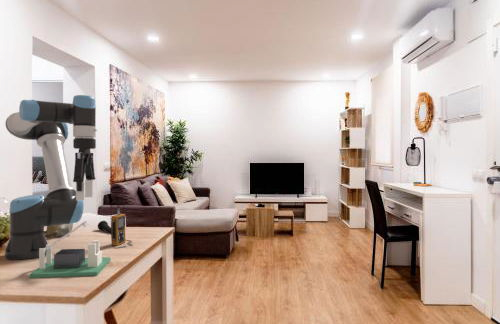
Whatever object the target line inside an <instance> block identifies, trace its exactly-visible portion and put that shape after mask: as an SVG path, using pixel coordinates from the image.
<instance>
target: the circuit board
mask: <svg viewBox="0 0 500 324" xmlns="http://www.w3.org/2000/svg"><path fill="white" fill-rule="evenodd" d="M100 241H101V240H98V239H97V240H96V239H95V240H92V241H91V243H88V244H87V257H85V262H84V263H83V264H82V265H81V266H80V267H79V268H69V269H53V266H54V258H53V246H52V247H50V250H49V251H47V252H46V255H45V248H40V249H39V257H38V258H39V259H38V260H39V261H38V263H39V264H38V266H39V267H37V268H36V269H35V270H34V271H32V272H31V273H29V278H30V279H34V278H35V279H36V278H37V279H39V278H60V277H61V278H64V277H66V278H67V277H92V276H93V277H94V276H95V277H96V276H98V275H100V273H101V271H103V269H104V268H105V267H106V266H107V265H108V264H109V263H110V261H111V257H110V256H108V257H105V256H104V257H103V250H100V247H101V246H100V245H101V244H100V243H101V242H100ZM51 244H52V243H50V244H49V243H48V244H47V245H46V246H50V245H51Z"/></svg>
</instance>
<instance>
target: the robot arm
mask: <svg viewBox="0 0 500 324" xmlns="http://www.w3.org/2000/svg"><path fill="white" fill-rule="evenodd" d="M72 98H73V99H72V103H71V102H70V103H69V102H56V101H55V102H54V101H45V100H44V101H43V100H35V99H22V100H21V101H20V102H19V103H20V104H19V107H18V108H19V110H18V112H14V113H11V114H10V115H8V116H7V118H6V120H5V128H6V130H7V131H8V132H9V134H10V135H12V136H14V137H16V138H18V139H22V140H27V141H28V140H30V141H31V140H32V141H33V140H34V141H36V145H37V146H38V147H40V148H41V151H42V157H43V162H44V164H43V165H44V169H45V173H46V180H47V186H48V193H47V194H46V196H45V195H44V194H30V195H23V196H19V197H16V198H13V199H12V200H11V201H10V203H9V238H8V241H7V245H6V247H5V250H4V259H7V260H12V261H13V260H17V261H18V260H28V259H35V258H39V249H40V248H45V247H46V245H47V244H49V243H48V241H47V239H46V237H45V235H44V231H45V227H47V226H53V225H63V224H71V223H73V224H74V223H75V224H76V223H78V222H80V221H81V219H82V217H83V213H84V206H85V205H84V202H85V201H86V199H85V198H94V181H95V180H96V176H95V165H94V153H93V152H91V150H94V149H96V147H97V146H96V145H97V144H96V141H97V140H96V139H95V138H96V132H97V131H98V129H96V114H97V112H96V110H97V109H96V108H97V105H96V98H95V97H94V96H93V95H85V94H78V95H74V96H73V97H72ZM68 124H69V125H72V131H73V133H72V137H73V140H72V142H73V146H72V148H73V149H75V150H78V152H75V153H74V156H75V157H74V158H75V159H74V173H73V180H72V181H73V183H75V189H74V188H73V187H72V184H71V180H70V175H69V169H68V165H67V160H66V154H65V150H64V144H65V143H66V140H67V139H68V136H69V128H68V127H69V126H68ZM45 256H46V252H45Z"/></svg>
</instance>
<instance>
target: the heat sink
mask: <svg viewBox="0 0 500 324" xmlns="http://www.w3.org/2000/svg"><path fill="white" fill-rule="evenodd" d="M85 258H86V248H66V249H65V248H61V249H60V250H59V251H57V252H56V253H54V254H53V259H54V266H53V269H69V268H79V267H80V266H81V265H82V264H83V263H84V262H85Z"/></svg>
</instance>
